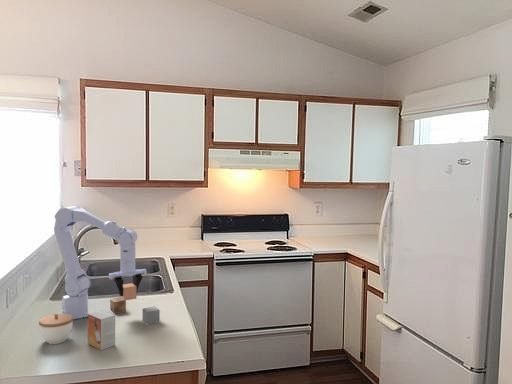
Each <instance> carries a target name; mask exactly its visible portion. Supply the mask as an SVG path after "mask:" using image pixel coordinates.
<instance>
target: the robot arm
mask: <svg viewBox="0 0 512 384" xmlns="http://www.w3.org/2000/svg"><path fill="white" fill-rule="evenodd" d="M54 219H55V222H54V227H53V231H54V235H55V239H56V242H57V244H58V248H59V251H60V255H61V259H62V261H63V263H64V268H65V271H66V275H65V277H64V282H65V285H64V289H65V292H66V294H67V295H63V296H62V298H61V300H62V301H61V308H62V309H61V314H70V315H72V316H73V320H76V319H77V320H78V319H83V317H84V318H88V314H90V313H91V312H89V288H90V286H91V278H90V277H89V276H88V275H87V273H86V271H85V269H83V268H81V264H80V260H79V257H78V253H77V251H76V247H75V244H74V240H73V238H72V234H71V230H72V228H73V227H74V225H76V223H78V222H85V223H87V224H89V225H91V226H93V227H96V228H98V229H100V230H101V232H102V234H103V235H105V236H107V237H109V238H110V239H112V240H115V241H117V242H118V244H119V245H120V246H119V247H120V249H119V251H120V252H119V253H120V255H119V257H120V259H119V261H120V262H119V263H120V266H119V267H120V269H119V270H120V271H115V272H111V273H108V279H109V280H113V281H114V283H115V285H116V287H117V290H118V294H119V297H120V296H123V285H124V281H125V280H124V279H123V278H126V277H132V283H133V284H134V285H135V286H136V295H137V293H138V289H139V286H140V284H141V282H142V279H143V275H147V269H146V268H140V269H139V268H138V269H137V268H136V242H137V240H138V233H137V232H136V231H135V230H134V229H132V228H129V229H127V228H128V227H126V226H121V224H118V223H117V221H115V220H109V221H105V220H103V219H102V218H100V217H99V216H96V215H95V214H93V213H91V212H90V211H88V210H86V209H85V208H82V207H80V206H78V205H72V206H67V207H61V208H60V209H58V210H57V212H56V213H55V215H54Z"/></svg>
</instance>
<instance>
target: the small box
mask: <svg viewBox="0 0 512 384" xmlns="http://www.w3.org/2000/svg"><path fill="white" fill-rule="evenodd" d="M89 313H90V314H88V317H87V344H88V345H90V346H92V347H94V348H96V349H98V350H99V351H103V350H105V349H108V348H110V347H114V346H115V345H116V314H113V313H110V312H107V311H105V310H102V309H101V310H98V311H97V310H96V311H95V312H89Z"/></svg>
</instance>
